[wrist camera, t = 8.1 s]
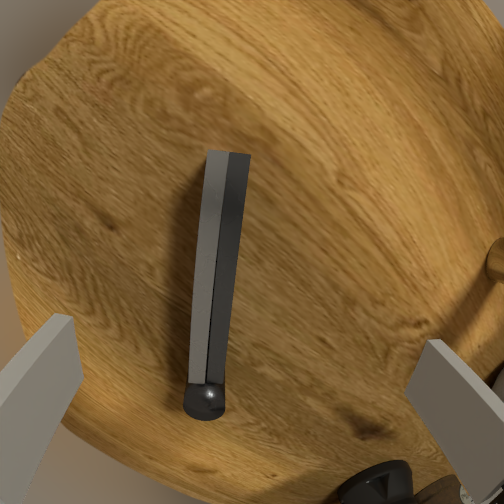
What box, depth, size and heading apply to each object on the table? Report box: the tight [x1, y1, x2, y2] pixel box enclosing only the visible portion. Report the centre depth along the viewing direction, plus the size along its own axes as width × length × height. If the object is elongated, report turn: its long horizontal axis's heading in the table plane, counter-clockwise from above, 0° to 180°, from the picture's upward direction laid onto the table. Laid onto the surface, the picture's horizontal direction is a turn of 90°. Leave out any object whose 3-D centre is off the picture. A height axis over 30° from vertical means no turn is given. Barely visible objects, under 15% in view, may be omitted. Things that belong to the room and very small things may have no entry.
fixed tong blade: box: [183, 152, 251, 421], centre depth 26 cm, size 24×4×6 cm, turn 172°
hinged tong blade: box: [188, 150, 229, 384], centre depth 26 cm, size 20×2×5 cm, turn 172°
